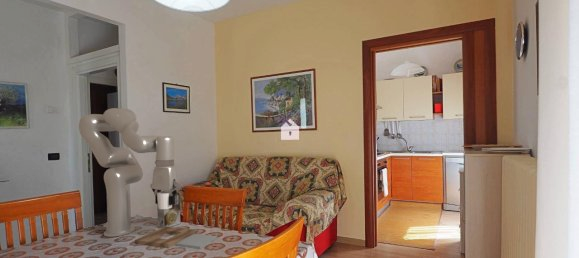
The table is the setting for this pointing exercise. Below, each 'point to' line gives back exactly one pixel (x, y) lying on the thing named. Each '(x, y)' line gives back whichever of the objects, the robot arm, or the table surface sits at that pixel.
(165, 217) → the coffee box
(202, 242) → the ceramic tile
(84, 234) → the table surface
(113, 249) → the table surface
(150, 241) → the pocket board
